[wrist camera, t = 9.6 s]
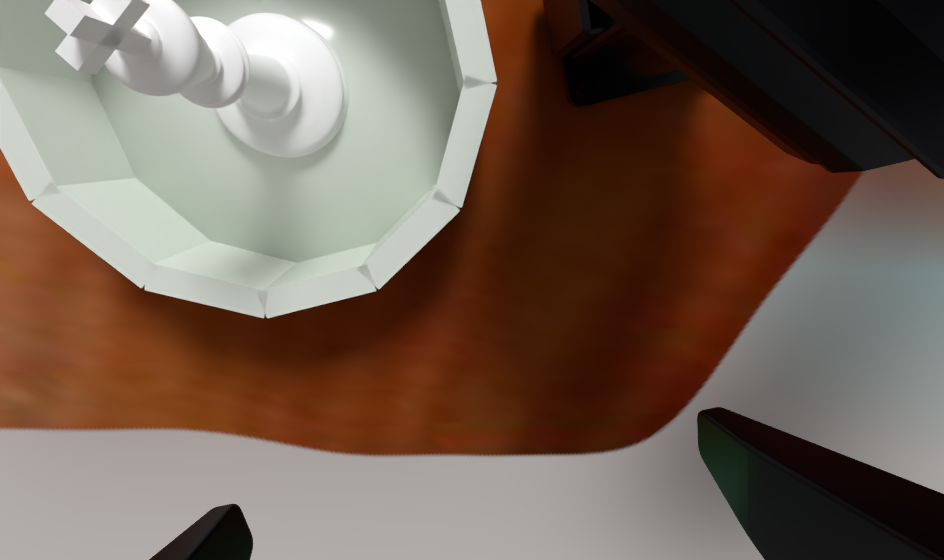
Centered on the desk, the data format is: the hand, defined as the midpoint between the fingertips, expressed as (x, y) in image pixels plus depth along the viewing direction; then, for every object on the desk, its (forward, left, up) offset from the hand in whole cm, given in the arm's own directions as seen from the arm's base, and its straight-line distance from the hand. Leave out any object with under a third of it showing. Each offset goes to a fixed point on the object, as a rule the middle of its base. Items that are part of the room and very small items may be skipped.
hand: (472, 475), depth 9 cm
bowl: (+4, -9, -12) cm, 16 cm away
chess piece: (+4, -9, -12) cm, 16 cm away
